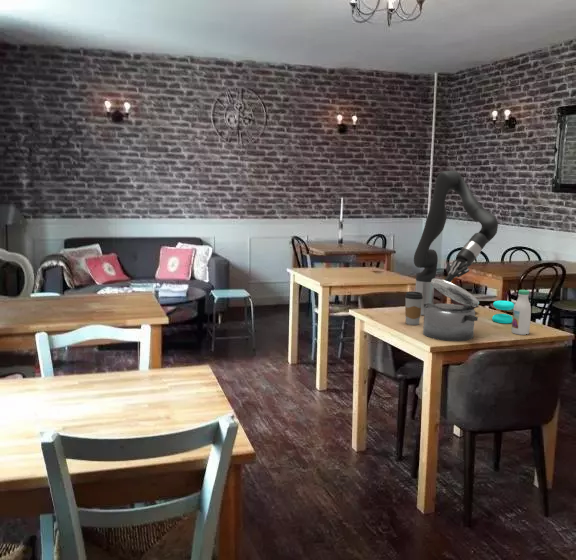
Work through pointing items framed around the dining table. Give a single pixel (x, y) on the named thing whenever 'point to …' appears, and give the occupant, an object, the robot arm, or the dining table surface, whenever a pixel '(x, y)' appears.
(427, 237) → the robot arm
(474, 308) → the pine cone
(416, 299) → the coffee cup
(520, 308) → the milk bottle
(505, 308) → the donuts
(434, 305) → the cooking pot
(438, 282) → the lid
